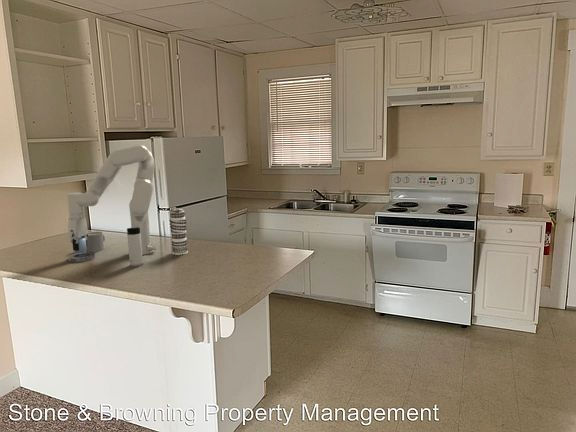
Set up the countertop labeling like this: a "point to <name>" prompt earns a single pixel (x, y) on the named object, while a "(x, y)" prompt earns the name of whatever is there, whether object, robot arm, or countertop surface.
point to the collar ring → (81, 257)
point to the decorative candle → (178, 231)
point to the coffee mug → (95, 241)
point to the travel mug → (135, 247)
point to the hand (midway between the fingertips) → (80, 248)
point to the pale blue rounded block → (81, 245)
